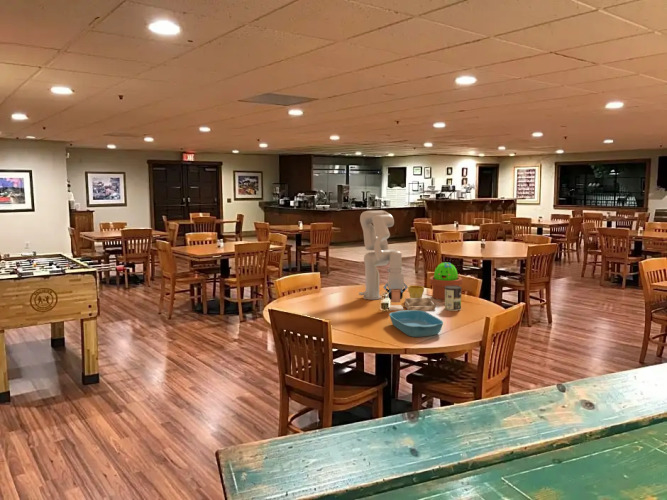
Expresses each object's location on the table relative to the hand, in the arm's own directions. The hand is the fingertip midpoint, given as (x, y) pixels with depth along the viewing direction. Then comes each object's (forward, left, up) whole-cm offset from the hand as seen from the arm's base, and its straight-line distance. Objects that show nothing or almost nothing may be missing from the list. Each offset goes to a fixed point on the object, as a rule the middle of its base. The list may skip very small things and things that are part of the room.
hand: (395, 298), depth 332 cm
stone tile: (0, 0, -6) cm, 6 cm away
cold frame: (+15, 0, -6) cm, 17 cm away
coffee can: (+35, -4, -7) cm, 36 cm away
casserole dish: (+4, -47, -7) cm, 48 cm away
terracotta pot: (0, 0, -2) cm, 2 cm away
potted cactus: (+38, +29, -7) cm, 48 cm away
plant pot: (+16, +19, -7) cm, 26 cm away
